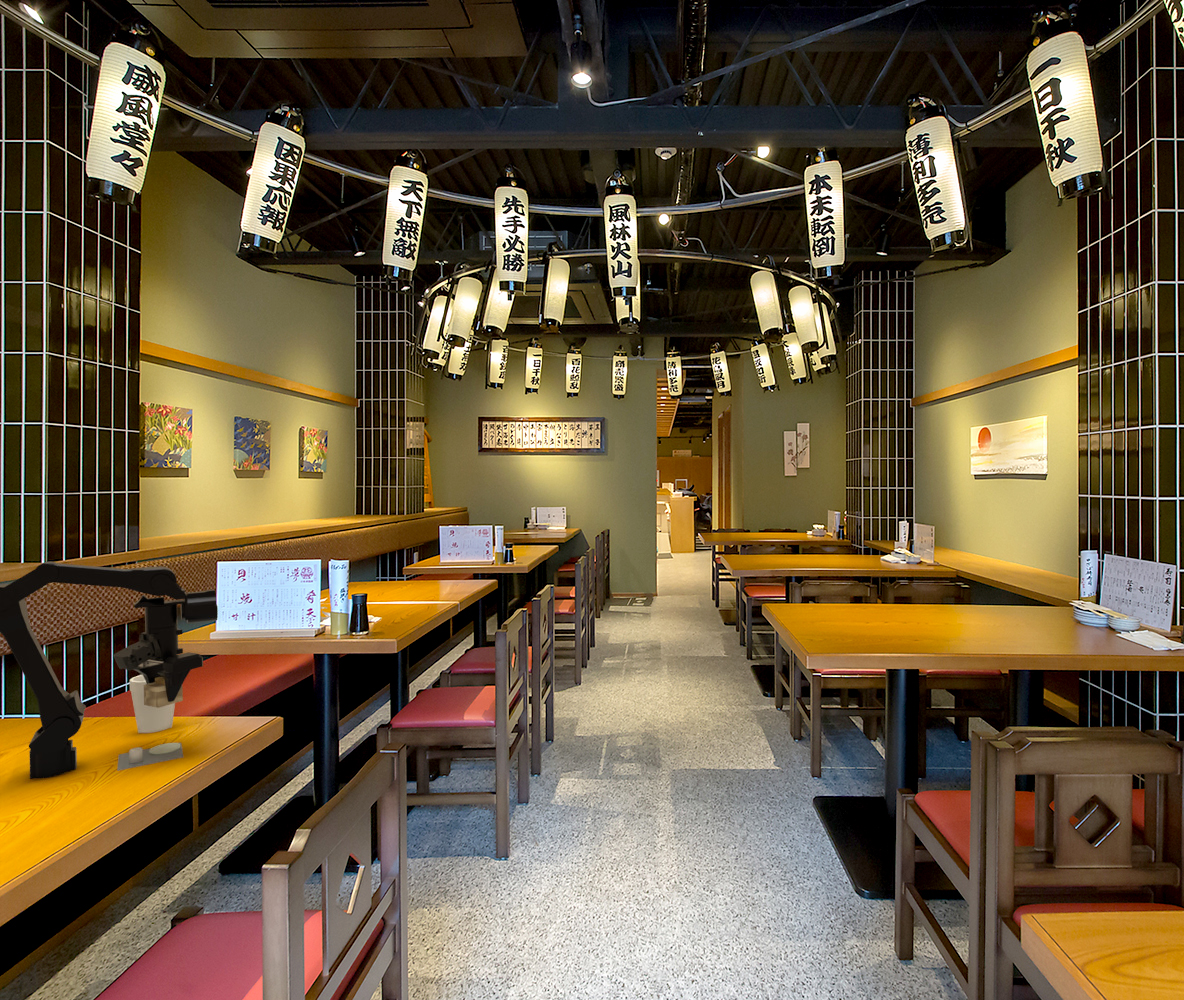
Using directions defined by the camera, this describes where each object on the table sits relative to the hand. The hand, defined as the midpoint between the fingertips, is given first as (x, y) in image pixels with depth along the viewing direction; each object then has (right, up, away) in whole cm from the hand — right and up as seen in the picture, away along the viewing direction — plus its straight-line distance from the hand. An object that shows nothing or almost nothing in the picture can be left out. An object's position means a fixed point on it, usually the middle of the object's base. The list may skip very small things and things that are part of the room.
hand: (163, 699), depth 137 cm
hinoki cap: (0, -1, 0) cm, 1 cm away
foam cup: (-11, -12, +14) cm, 22 cm away
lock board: (-1, -12, -3) cm, 12 cm away
